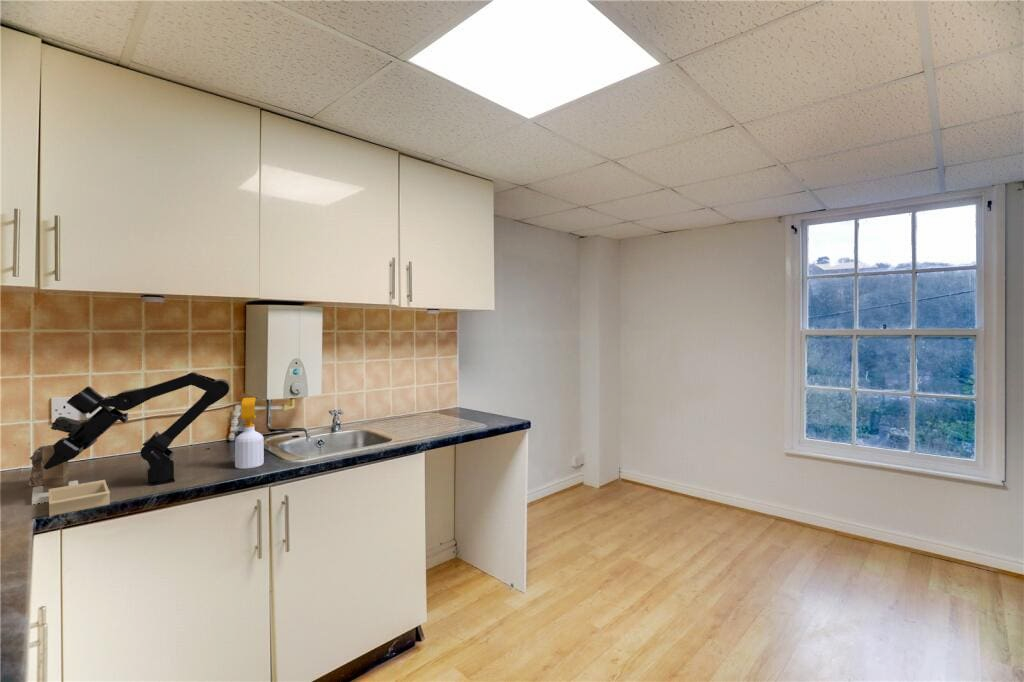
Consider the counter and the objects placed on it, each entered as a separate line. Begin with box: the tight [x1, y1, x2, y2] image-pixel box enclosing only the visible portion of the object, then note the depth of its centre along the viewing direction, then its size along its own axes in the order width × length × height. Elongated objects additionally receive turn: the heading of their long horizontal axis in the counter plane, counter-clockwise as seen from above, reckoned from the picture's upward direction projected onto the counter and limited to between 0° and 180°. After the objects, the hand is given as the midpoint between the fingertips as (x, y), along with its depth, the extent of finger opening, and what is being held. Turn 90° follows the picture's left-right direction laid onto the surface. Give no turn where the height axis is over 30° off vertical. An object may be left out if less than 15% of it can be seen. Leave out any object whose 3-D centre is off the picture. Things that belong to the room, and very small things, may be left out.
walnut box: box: [42, 444, 70, 493], centre depth 141 cm, size 4×4×13 cm
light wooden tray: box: [48, 479, 111, 517], centre depth 133 cm, size 12×15×4 cm
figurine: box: [28, 445, 47, 487], centre depth 151 cm, size 7×7×12 cm
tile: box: [31, 479, 80, 506], centre depth 141 cm, size 10×14×2 cm
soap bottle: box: [234, 397, 265, 470], centre depth 171 cm, size 9×9×25 cm
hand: (50, 464), depth 140 cm, fingers open, 9 cm apart
